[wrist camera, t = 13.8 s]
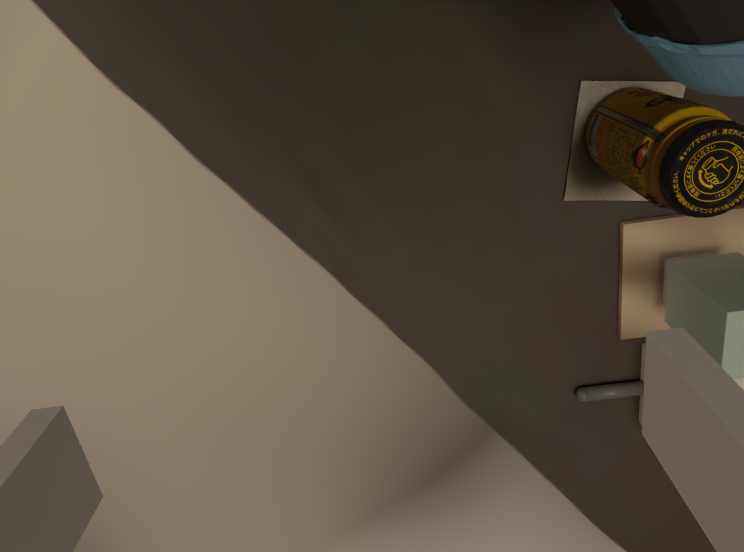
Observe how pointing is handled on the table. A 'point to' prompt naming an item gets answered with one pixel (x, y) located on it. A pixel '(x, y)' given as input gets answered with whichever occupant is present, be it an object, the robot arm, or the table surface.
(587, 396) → the power strip
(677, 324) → the block
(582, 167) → the condiment
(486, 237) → the table surface
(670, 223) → the cork coaster
